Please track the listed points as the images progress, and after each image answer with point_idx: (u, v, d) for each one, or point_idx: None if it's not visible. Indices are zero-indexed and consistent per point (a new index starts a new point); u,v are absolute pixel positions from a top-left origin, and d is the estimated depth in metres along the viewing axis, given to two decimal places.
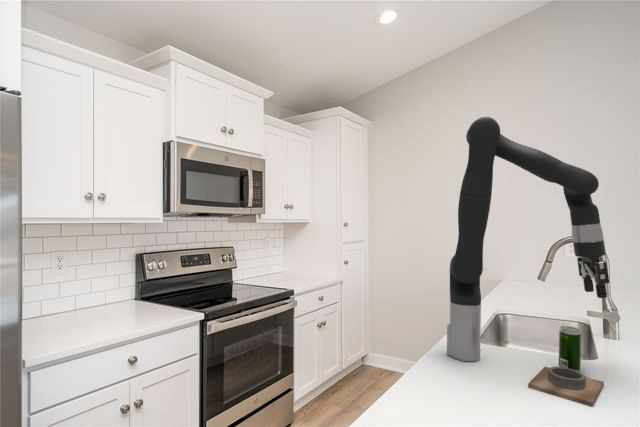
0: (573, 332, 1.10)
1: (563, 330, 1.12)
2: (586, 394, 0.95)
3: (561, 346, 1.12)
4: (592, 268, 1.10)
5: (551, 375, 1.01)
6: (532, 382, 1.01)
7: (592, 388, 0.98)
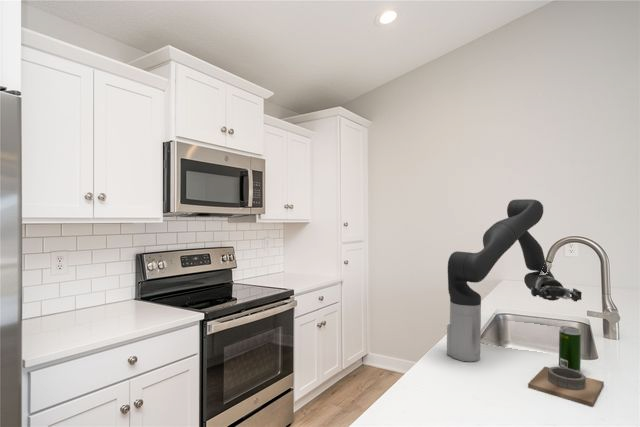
0: (573, 332, 1.10)
1: (563, 330, 1.12)
2: (586, 394, 0.95)
3: (561, 346, 1.12)
4: None
5: (551, 375, 1.01)
6: (532, 382, 1.01)
7: (592, 388, 0.98)
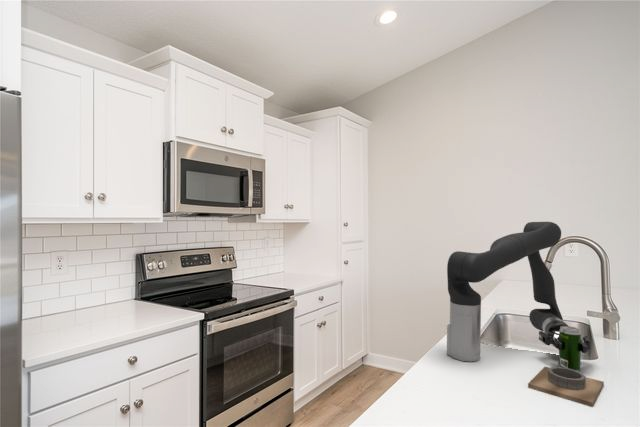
0: (573, 332, 1.10)
1: (563, 330, 1.12)
2: (586, 394, 0.95)
3: None
4: None
5: (551, 375, 1.01)
6: (532, 382, 1.01)
7: (592, 388, 0.98)
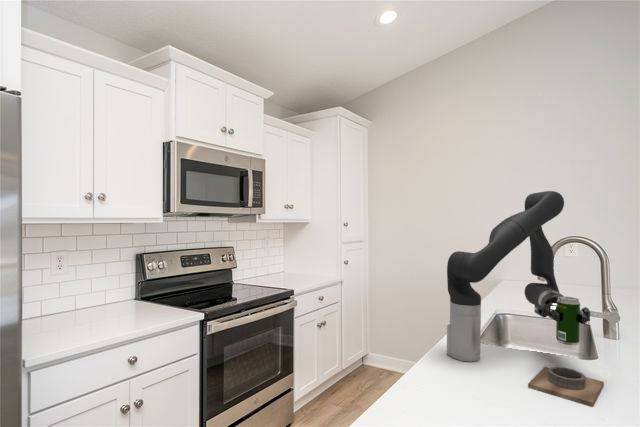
0: (572, 302, 1.02)
1: (561, 300, 1.03)
2: (586, 394, 0.95)
3: (559, 317, 1.04)
4: None
5: (551, 375, 1.01)
6: (532, 382, 1.01)
7: (592, 388, 0.98)
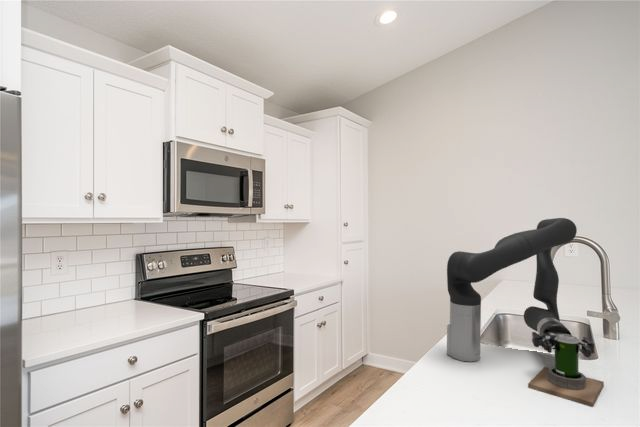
0: (570, 340, 0.99)
1: (559, 338, 1.01)
2: (586, 394, 0.95)
3: (557, 356, 1.01)
4: None
5: (551, 375, 1.01)
6: (532, 382, 1.01)
7: (592, 388, 0.98)
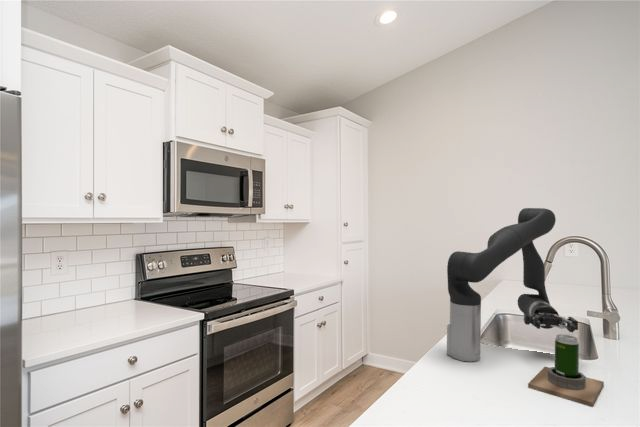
0: (570, 341, 0.99)
1: (559, 339, 1.01)
2: (586, 394, 0.95)
3: (557, 357, 1.01)
4: None
5: (551, 375, 1.01)
6: (532, 382, 1.01)
7: (592, 388, 0.98)
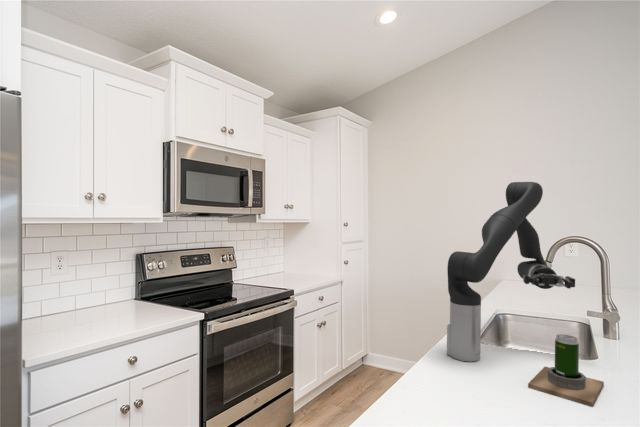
0: (570, 341, 0.99)
1: (559, 339, 1.01)
2: (586, 394, 0.95)
3: (557, 357, 1.01)
4: None
5: (551, 375, 1.01)
6: (532, 382, 1.01)
7: (592, 388, 0.98)
